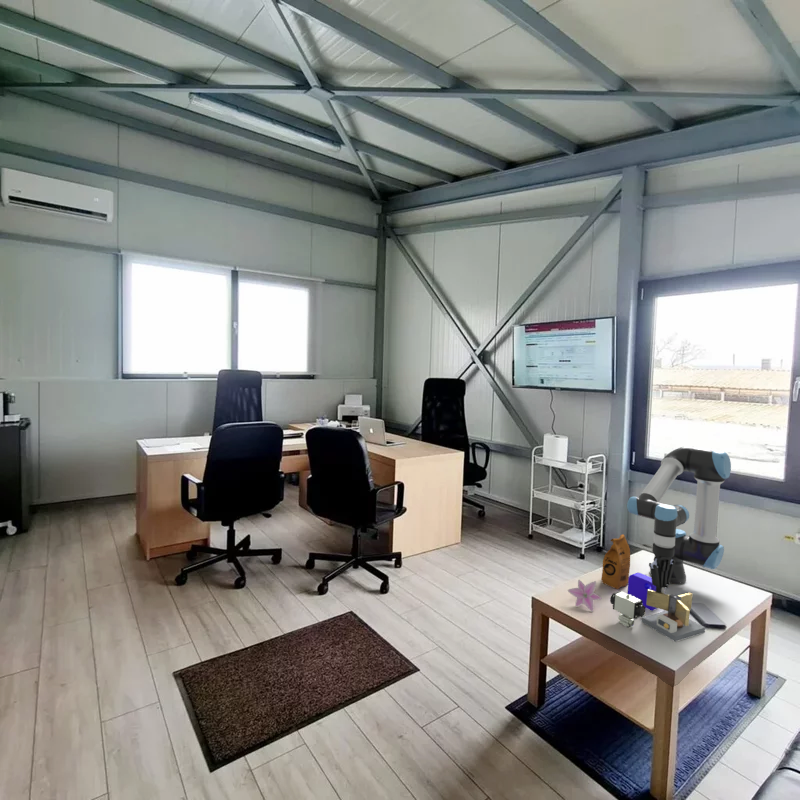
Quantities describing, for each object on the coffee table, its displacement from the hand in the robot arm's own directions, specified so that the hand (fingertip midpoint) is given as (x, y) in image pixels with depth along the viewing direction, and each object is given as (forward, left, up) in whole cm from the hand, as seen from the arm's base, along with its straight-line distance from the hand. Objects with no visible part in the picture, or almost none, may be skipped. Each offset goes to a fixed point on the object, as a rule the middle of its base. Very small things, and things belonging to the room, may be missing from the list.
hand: (659, 602), depth 188 cm
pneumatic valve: (+15, -2, -7) cm, 17 cm away
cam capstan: (+1, +4, -5) cm, 6 cm away
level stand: (0, +6, -7) cm, 9 cm away
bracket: (-12, -12, -7) cm, 18 cm away
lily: (+20, -19, -7) cm, 29 cm away
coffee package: (-10, -29, -7) cm, 32 cm away
